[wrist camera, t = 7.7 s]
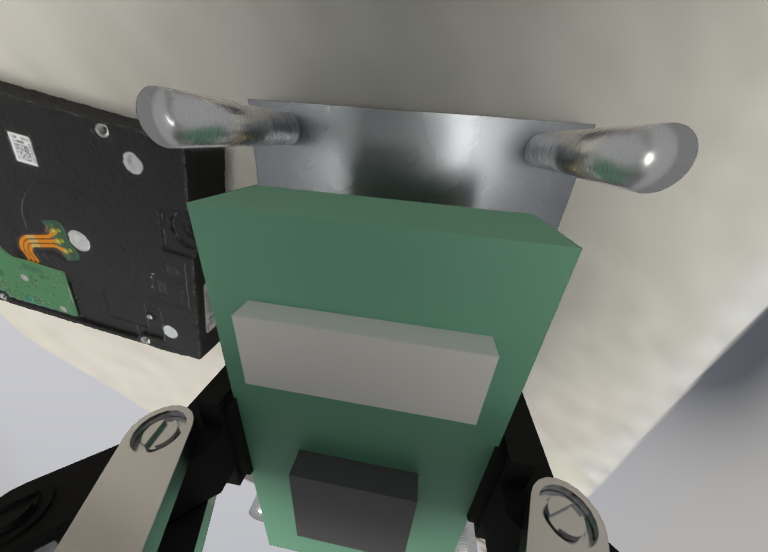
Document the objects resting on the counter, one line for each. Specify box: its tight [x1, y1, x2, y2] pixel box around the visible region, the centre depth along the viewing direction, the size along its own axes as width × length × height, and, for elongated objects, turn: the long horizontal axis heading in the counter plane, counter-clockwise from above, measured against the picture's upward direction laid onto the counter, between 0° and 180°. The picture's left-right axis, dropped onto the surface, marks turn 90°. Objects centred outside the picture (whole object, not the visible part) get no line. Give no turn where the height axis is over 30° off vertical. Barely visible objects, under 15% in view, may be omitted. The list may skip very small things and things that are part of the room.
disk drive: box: [0, 81, 225, 359], centre depth 13 cm, size 10×3×15 cm
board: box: [186, 185, 582, 552], centre depth 7 cm, size 12×6×3 cm, turn 175°
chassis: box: [136, 86, 698, 552], centre depth 11 cm, size 16×11×6 cm
